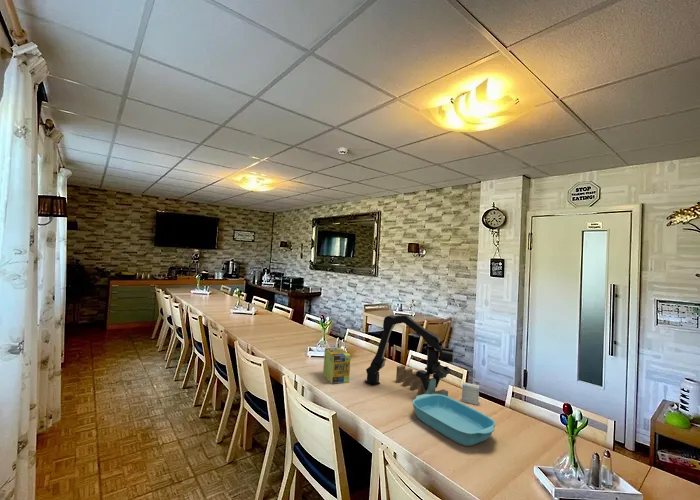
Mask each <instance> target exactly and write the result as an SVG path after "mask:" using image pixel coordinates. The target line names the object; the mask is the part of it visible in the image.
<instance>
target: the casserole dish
mask: <svg viewBox="0 0 700 500" xmlns="http://www.w3.org/2000/svg"><path fill="white" fill-rule="evenodd" d="M412 406H413V409H414V413H415V415H416V417H417V419H419V420H420V421H421V422H423V423H424V424H425V425H427V426H429V427H431V428H432V429H434V430H435V431H437V432H439V433H440V434H442V435H444V436H445V437H447V438H449V439H450V440H452V441H454V442H455V443H458V444H459V445H461V446H465V447H469V446H474V445H476V444H479V443H482V442H484V441H486V440H488V439H489V438H490V437H491V436H492V433H493V432H494V431H495V427H496V421H495V420H494V419H493V418H492V417H490V416H488V415H486V414H485V413H483V412H481V411H478V410H477V409H474V408H473V407H470V406H468V405H466V404H465V403H463V402H460V401H459V400H456V399H454V398H452V397H449V395H448V396H445V395H440V394H426V393H424V394H419V395H417V396H415V398H414V399H413V400H412Z"/></svg>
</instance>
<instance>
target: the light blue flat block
mask: <svg viewBox="0 0 700 500" xmlns="http://www.w3.org/2000/svg"><path fill="white" fill-rule="evenodd" d="M430 379H431V380H430V381H429V382H428V389H427V391H426V393H425V394H431V393H432V392H435V391H436V389H437V388H436V379H434V378H433V377H432V378H431V377H430Z"/></svg>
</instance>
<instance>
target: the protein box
mask: <svg viewBox="0 0 700 500" xmlns="http://www.w3.org/2000/svg"><path fill="white" fill-rule="evenodd" d="M323 357H324V358H323V369H322V375H323V376H324V378H326V380H328V382H329V383H330V384H331V385H337V384H338V385H339V384H347V383H350V375H351V373H350V372H351V371H350V370H351V358H352V356H351V354H350V353H348V352H347V351H346V350H344V349H343V348H342V347H325V348H324V355H323Z"/></svg>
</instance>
